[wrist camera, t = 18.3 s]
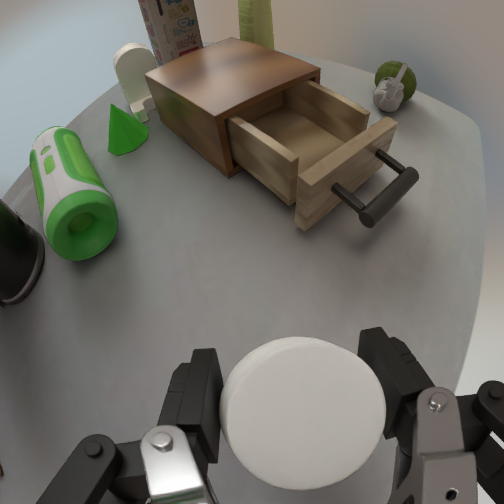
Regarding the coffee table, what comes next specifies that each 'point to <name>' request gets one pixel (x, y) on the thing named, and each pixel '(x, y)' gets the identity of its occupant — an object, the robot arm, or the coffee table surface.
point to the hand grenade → (393, 85)
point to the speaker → (71, 196)
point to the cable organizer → (136, 77)
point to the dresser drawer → (317, 152)
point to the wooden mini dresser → (220, 91)
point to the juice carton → (171, 28)
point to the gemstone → (125, 132)
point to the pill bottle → (302, 413)
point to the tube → (256, 22)
